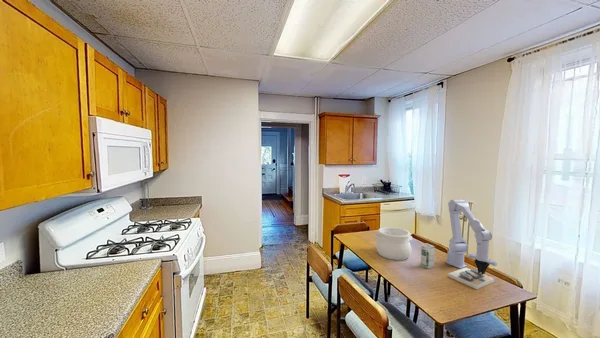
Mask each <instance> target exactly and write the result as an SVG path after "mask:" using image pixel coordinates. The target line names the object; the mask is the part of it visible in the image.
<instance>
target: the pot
mask: <svg viewBox="0 0 600 338" xmlns="http://www.w3.org/2000/svg"><path fill="white" fill-rule="evenodd" d="M375 239H377V241H376V246H375V247H376V252H377V253H378V254H379V256H381V257H383V258H385V259H388V260H393V261H403V260H407V259H408V258H410V256H411V254H412V245H411V242H410V241H413V236H412V235H411V232H410V231H409V230H407V229H403V228H400V227H395V226H393V227H392V226H391V227H390V226H386V227H380V228H378V230H377V234H375Z"/></svg>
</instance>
